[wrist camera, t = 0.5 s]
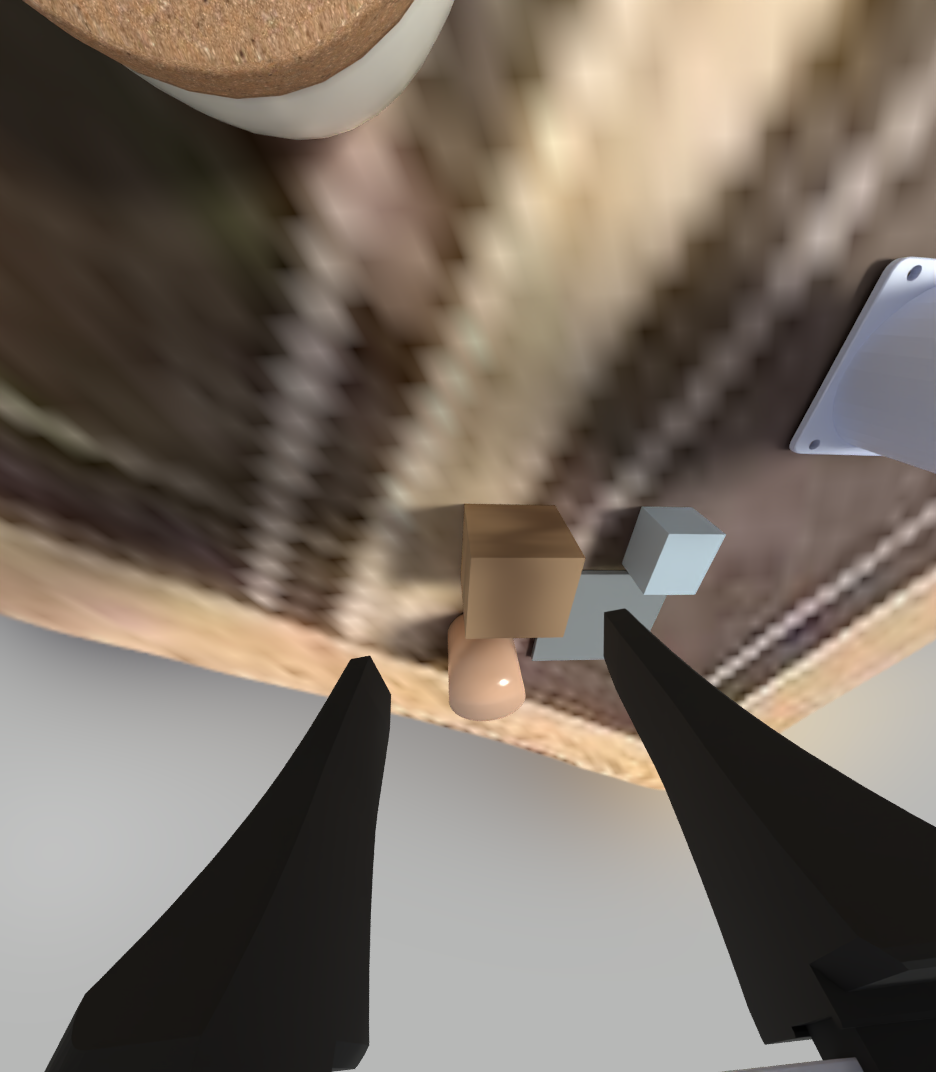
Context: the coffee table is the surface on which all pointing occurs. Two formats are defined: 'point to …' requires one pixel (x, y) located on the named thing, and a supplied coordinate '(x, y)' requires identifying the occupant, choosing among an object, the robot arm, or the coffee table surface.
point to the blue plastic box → (671, 550)
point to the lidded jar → (265, 54)
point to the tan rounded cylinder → (483, 675)
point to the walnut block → (517, 571)
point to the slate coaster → (597, 615)
